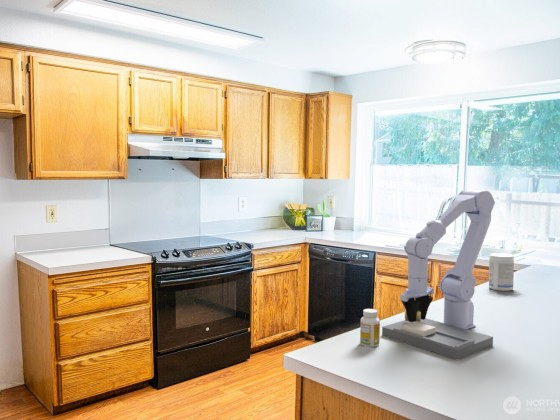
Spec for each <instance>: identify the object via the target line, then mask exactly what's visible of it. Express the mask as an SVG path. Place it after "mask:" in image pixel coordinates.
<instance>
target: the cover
mask: <svg viewBox="0 0 560 420" xmlns="http://www.w3.org/2000/svg"><path fill="white" fill-rule="evenodd" d="M403 330H404V331H407V332H411V333H414V334H417V335H420V336H423V337H424V336H427V335H430V334H433V333H436V327H433V326H430V325H426V324H423V323H419V322H416V321H415V322H412V323H408V324H405V325H403Z"/></svg>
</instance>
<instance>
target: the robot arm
mask: <svg viewBox="0 0 560 420" xmlns="http://www.w3.org/2000/svg"><path fill="white" fill-rule="evenodd" d="M495 203H496V201H495V199H494V197H493V194H492V193H491V191H489V190H486V189H485V190H478V189H477V190H476V189H474V190H471V189H463V190H461V191H460V192H459V194H457V195H455V197H454V200H453V202H452V203H451V204H450V206H448V207H447V209H446V210H445V211H444V212H443V213H442V215H440V217H438V219H437V220H431V221H427V222H426V226H424V227H423V229H422V230H420V231H419V232H417V233H416V236H415V237H411V238H409V239H407V242H406V243H405V245H404V246H403V247H404V251H405V254H407V264H408V265H407V288H405V289H404V290H405V291H404V292H403V293H401V294H400V295H399V297H400V298H399V300H400V301H401V303H402V305H403V308H404V310H406V313H407V316H408V321H409V322H415V321H416V318H417V310H420V311H421V319H422V320H425V318H427V314H428V311H429V307H430V305H431V304H432V302H433V300H434V297H433V296H431V295H434V294H435V293H434V292H435V291H434V287H430V286H428V266H429V265H428V262H429V259H428V257H429V256H431V254H432V253H433V248H434V247H435V245H436V244H437V243H438V242H439V241H440V240H441V239H443V237H444V236H445V234H446V235H447V228H448V227H449V226H450V225H451V224H453V222H455V220H457V219H458V218H459V217H460V216H461V215H462V214H464V213H465V214H466V216H467V217H468V218H469V221H470V223H469V226H468V229H467V230H466V231H467V232H466V235H465V237H464V239H463V242H462V245H461V248H460V250H459V253H458V256H457V258H456V261H455V264H454V266H453V267H451V268H450V269H448V270H447V271H446V273H445V275H444V276H443V277H442V278H441V280H440V282H439V289H440V292H441V293H442V295H443V298H444V299H443V300H444V302H443V322H441V323H445V324H449V325H452V326H456V327H459V328H463V329H467V330H470V329H472V328H474V327H476V326H477V324H475V323H474V316H475V315H474V314H475V313H474V312H475V311H474V308H475V305H474V303H473V301H472V300H471V299H473V297H474V294H475V287H476V286H475V285H476V282H477V280H476V278H475V276H474V275H473V270H474V268H475V265H476V262H477V261H478V257H479V255H480V251H481V249H482V246H483V244H484V241H485V237H487V236H486V235H487V233H488V229H489V227H490V225H491V221H492V211H493V209H494V206H495Z"/></svg>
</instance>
